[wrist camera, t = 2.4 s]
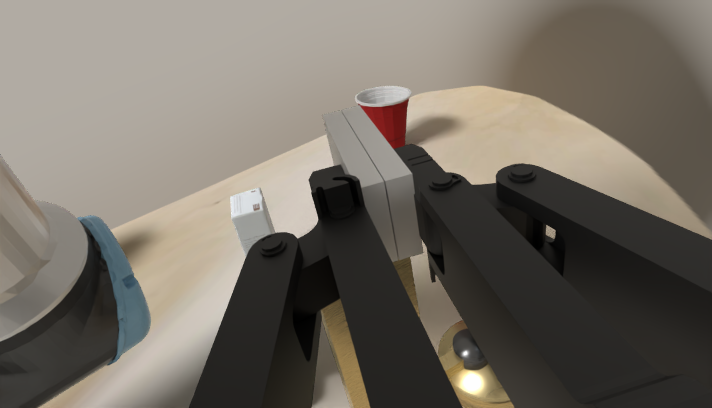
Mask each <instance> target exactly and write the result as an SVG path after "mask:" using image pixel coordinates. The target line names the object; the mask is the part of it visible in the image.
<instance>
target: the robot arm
mask: <svg viewBox="0 0 712 408" xmlns="http://www.w3.org/2000/svg"><path fill="white" fill-rule="evenodd" d="M322 117H323V122H324V125H325V130H326V134H327V138H328V142H329V146H330V150H331V154H332V158H333V162H334V166H332V167H329V168H325V169H321V170H318V171H314V172H313V173H312V174H311V176H310V178H309V183H310V187H311V190H312V192H311V194H312V197H313V201H314V204H315V208H316V211H317V215H318V222H317V225H316V226H315V227H314V229H312V230H311V231H310V232H309V233H307V234H306V235H304V236H302V237H300V238H298V239H297V238H296V237H295V236H294V235H293V234H290V233H287V232H281V233H274V234H270V235H267V236H265V237H263V238H261V239H259V240H258V241H257V242H256V243H254V244H253V245H252V246H251V248H250V250H249V251H248V254H247V256H246V259H245V261H244V264H243V267H242V269H241V272H240V275H239V277H238V280H237V283H236V285H235V288H234V290H233V293H232V296H231V298H230V301H229V304H228V306H227V309H226V311H225V314H224V317H223V319H222V322H221V325H220V327H219V330H218V333H217V335H216V338H215V340H214V343H213V346H212V348H211V351H210V354H209V356H208V359H207V361H206V364H205V367H204V369H203V372H202V375H201V377H200V380H199V383H198V385H197V388H196V390H195V393H194V396H193V398H192V401H191V404H190V406H189V408H311V406H312V398H313V389H314V381H315V372H316V364H317V355H318V347H319V338H320V330H321V321H322V314H321V310H322V309H323V308H325V307H327V306H328V305H330V304H332V303H333V302H335V301H337V300H338V299H341V302H342V306H343V310H344V313H345V317H346V321H347V324H348V328H349V332H350V335H351V339H352V342H353V346H354V350H355V353H356V357H357V361H358V364H359V368H360V372H361V375H362V379H363V383H364V386H365V390H366V394H367V397H368V401H369V405H370V408H463V407H462V405H461V403H460V401H459V399H458V397H457V395H456V393H455V391H454V389H453V387H452V385H451V382H450V380H449V378H448V376H447V374H446V372H445V370H444V368H443V366H442V364H441V362H440V360H439V358H438V356H437V353H436V351H435V349H434V347H433V345H432V343H431V341H430V339H429V337H428V335H427V333H426V331H425V329H424V327H423V325H422V322H421V320H420V318H419V316H418V314H417V312H416V310H415V308H414V306H413V304H412V302H411V300H410V298H409V296H408V294H407V291H406V289H405V287H404V285H403V283H402V281H401V279H400V277H399V275H398V273H397V271H396V269H395V267H394V265H393V263H392V262H395V261H398V259H399V260H401V259H405V258H408V257H412V256H415V255H418V254H422V253H423V247H422V240H423V242H424V244H425V245H426V247H427V253H428V260H429V268H430V275H431V280H432V283H433V282H436V280H435V275H437V277H438V278H439V280H440V282H441V283H442V285H443V287H444V288H445V290H446V292H447V294H448V295H449V297H450V299H451V300H452V302H453V304H454V305H455V307H456V309H457V311H458V312H459V314H460V316H461V317H462V319H463V321H464V322H465V324H466V326H467V328H468V329H469V331H470V333H471V334H472V336H473V338H474V339H475V341H476V343H477V345H478V346H479V348H480V350H481V351H482V353H483V355H484V356H485V358H486V360H487V362H488V363H489V365H490V367H491V368H492V370H493V372H494V373H495V375H496V377H497V379H498V380H499V382H500V384H501V385H502V387H503V389H504V390H505V392H506V394H507V396H508V397H509V399H510V401H511V402H512V404H513V406H514V407H515V408H712V240H711V239H709V238H706V237H704V236H702V235H699V234H697V233H695V232H692V231H690V230H687V229H685V228H683V227H680V226H678V225H676V224H673V223H671V222H669V221H666V220H664V219H662V218H659V217H657V216H655V215H652V214H650V213H647V212H645V211H643V210H640V209H638V208H636V207H633V206H631V205H629V204H626V203H624V202H622V201H619V200H617V199H615V198H612V197H610V196H607V195H605V194H603V193H600V192H598V191H596V190H593V189H591V188H589V187H586V186H584V185H582V184H579V183H577V182H575V181H572V180H570V179H567V178H565V177H563V176H560V175H558V174H556V173H553V172H551V171H549V170H546V169H544V168H542V167H539V166H535V165H530V164H513V165H510V166H507V167H504V168H502V169H501V170H499V171H498V173H497V174H496V183H492V184H482V185H471V184H470V183H469V182H468V181H467V180H466V179H465V178H464V177H463V176H461V175H459V174H455V173H446V172H445V171H444V170H443V169H442V168H441V167H440V166H439V165H438V164H437V163H436V162H435V161H434V160H433V159H432V157H431V156H430V155H428V153H427V152H426V151H425V150H424V149H423V148H422V147H419V146H416V145H413V144H409V145H406V146H402V147H398V148H395V149H393V148H392V147H391V145H390V144H389V143H388V142H387V140H386V139H385V138H384V136H383V135H382V134H381V133H380V131H379V130H378V129H377V127H376V126H375V125H374V123H373V122H372V121H371V120H370V118H369V117H368V116H367V114H366V113H365V112H364V111H363V109H362V108H361V107H360V105H358V106H355V107H351V108H347V109H343V110H341V111H340V110H339V111H335V112H332V113H328V114H324V115H322ZM546 225H548V226H550V227H551V228H553V229H555V230H556V234H555V239H553V238H550V237H549V236H547V235H546ZM421 239H422V240H421ZM150 325H151V317H150V312H149V308H148V305H147V302H146V299H145V297H144V294H143V292H142V289H141V287H140V285H139V283H138V281H137V280H136V278H135V277H134V273H133V271H132V269H131V266H130V263H129V261H128V259H127V258H126V256H125V254H124V252H123V250H122V248H121V247H120V245H119V243H118V242H117V240H116V238H115V237H114V235H113V234H112V232H111V231H110V229H109V228H108V226H107V225H106V224H105V223H104V222H103V221H102V220H101V219H100V218H99V217H96V216H91V215H90V216H86V217H78V218H76V217H75V216H74V215H73V214H71V213H70V212H69V211H67V210H66V209H64V208H62V207H60V206H58V205H55V204H52V203H48V202H43V201H35V200H34V199H33V198H32V197H31V195H30V194H29V193H28V191H27V190H26V189H25V187H24V186H23V185H22V183H21V182H20V181H19V179H18V178H17V177H16V175H15V174H14V173H13V171H12V170H11V168H10V167H9V166H8V164H7V163H6V162H5V160H4V159H3V158H2V156H1V155H0V408H39V407H40V406H42V405H43V404H45V403H47V402H48V401H50V400H51V399H53V398H54V397H56V396H58V395H59V394H61V393H62V392H64V391H66V390H67V389H69V388H70V387H72V386H73V385H75V384H77V383H78V382H80V381H82V380H83V379H85V378H86V377H88V376H90V375H91V374H93V373H95V372H96V371H98V370H99V369H101V368H103V367H104V366H106V365H110V364H112V363H114V362H116V361H117V360H118V359H119V358H120V356H121V355H122V354H123V353H125V352H126V351H128V350H129V349H131V348H132V347H133V346H135V345H136V344H138V343H139V342H141V341H142V340H143V339H144V338H145V337H146V335H147V334H148V332H149V329H150Z"/></svg>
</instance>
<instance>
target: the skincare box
mask: <svg viewBox="0 0 712 408" xmlns="http://www.w3.org/2000/svg"><path fill="white" fill-rule="evenodd" d="M230 202H231V219H232V221H233V224H234V226H235V229H236V232H237V235H238V238H239V240H240V243H241V246H242V248H243V251H244V254H245V256H247V254H248V251H249V250H250V248H251V246H252V245H253V244H254V243H256V242H257V241H258V240H259V239H261V238H263V237H265V236H267V235H270V234H274V233H275V230H274V227H273V224H272V221H271V218H270V215H269V212H268V209H267V206H266V203H265V200H264V197H263V194H262V191H261V188H256V189H252V190H249V191H246V192H242V193H239V194H236V195H234V196H231V197H230Z"/></svg>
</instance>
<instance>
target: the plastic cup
mask: <svg viewBox="0 0 712 408" xmlns="http://www.w3.org/2000/svg"><path fill="white" fill-rule="evenodd" d="M410 96H411V91H410V90H409V89H407V88H404V87H399V86H381V87H374V88H370V89H367V90H364V91H362V92H360V93H358V94H357V95H356V96H355V100H356V102H357V103H358V105H360V107H361V108H362V109H363V111H364V112H365V113H366V114H367V116H368V117H369V118H370V120H371V121H372V122H373V123H374V125H375V126H376V127H377V129H378V130H379V131H380V133H381V134H382V135H383V136H384V138H385V139H386V140H387V142H388V143H389V144H390V145H391V147H392V148H393V149H395V148H398V147H402V146H405V133H406V119H407V107H408V102H409V98H410Z"/></svg>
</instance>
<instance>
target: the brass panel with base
mask: <svg viewBox="0 0 712 408" xmlns="http://www.w3.org/2000/svg"><path fill="white" fill-rule="evenodd" d="M392 263H393V265H394V267H395V269H396V271H397V273H398V275H399V277H400V279H401V281H402V283H403V285H404V287H405V289H406V291H407V294H408V296H409V298H410V300H411V302H412V304H413V306H414V308H415V310H416V312H417V314H418V316H419V310H418V304H417V297H416V291H415V285H414V279H413V272H412V266H411V260H410V257H408V258H405V259H401V260H399V259H398V261H395V262H392ZM321 314H322V322H323V325H324V328H325V331H326V334H327V337H328V340H329V343H330V346H331V349H332V352H333V355H334V358H335V361H336V364H337V367H338V370H339V373H340V376H341V379H342V382H343V385H344V388H345V391H346V394H347V397H348V400H349V404H350V407H351V408H370V405H369V401H368V397H367V394H366V390H365V386H364V383H363V379H362V375H361V372H360V368H359V364H358V361H357V357H356V353H355V350H354V346H353V342H352V339H351V335H350V332H349V328H348V324H347V321H346V317H345V313H344V310H343V306H342V302H341V299H338V300H337V301H335V302H333V303H332V304H330V305H328V306H327V307H325V308H323V309H322V310H321ZM419 318H420V316H419ZM438 356H439V360H440V362H441V364H442V366H443V368H444V370H445V372H446V374H447V376H448V378H449V380H450V382H451V385H452V387H453V389H454V391H455V393H456V395H457V397H458V399H459V401H460V403H461V405H462V406H464V407H465V408H515V407H514V406H513V404H512V402H511V401H510V399H509V397H508V396H507V394H506V392H505V390H504V389H503V387H502V385H501V384H500V382H499V380H498V379H497V377H496V375H495V373H494V372H493V370H492V368H491V367H490V365H489V363H488V362H487V360H486V358H485V356H484V355H483V353H482V351H481V350H480V348H479V346H478V345H477V343H476V341H475V339H474V338H473V336H472V334H471V333H470V331H469V329H468V328H467V326H466V324H465V322H464V321H463V320H462V321H460V322H458V323H456V324H455V325H453V326H452V327H451V328H449V329H448V330H447V332H446V333H445V334H444V336H443V337H442V339H441V341H440V345H439V350H438Z"/></svg>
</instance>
